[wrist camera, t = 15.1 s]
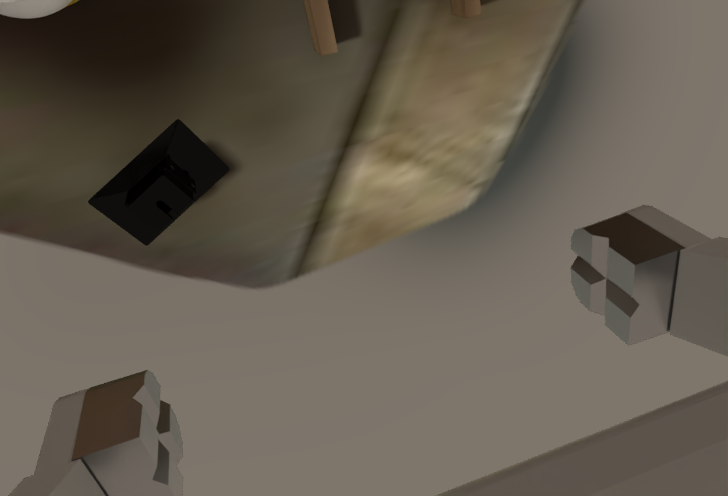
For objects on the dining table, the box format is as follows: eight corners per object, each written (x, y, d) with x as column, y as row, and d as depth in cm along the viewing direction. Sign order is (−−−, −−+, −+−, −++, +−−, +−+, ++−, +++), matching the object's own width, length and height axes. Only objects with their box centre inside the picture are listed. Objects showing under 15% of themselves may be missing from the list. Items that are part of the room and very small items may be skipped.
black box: (141, 260, 46) (138, 288, 42) (64, 202, 42) (53, 228, 39) (251, 160, 45) (258, 180, 41) (182, 92, 41) (183, 107, 37)
